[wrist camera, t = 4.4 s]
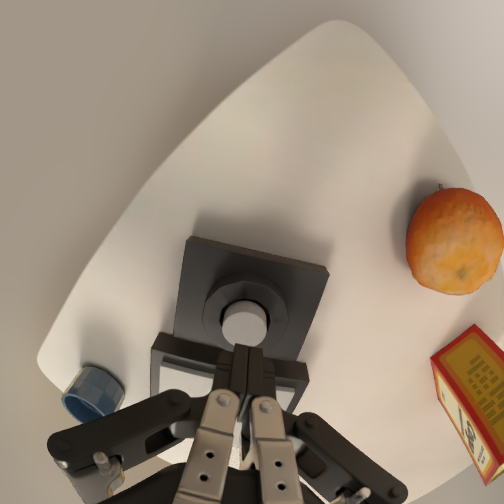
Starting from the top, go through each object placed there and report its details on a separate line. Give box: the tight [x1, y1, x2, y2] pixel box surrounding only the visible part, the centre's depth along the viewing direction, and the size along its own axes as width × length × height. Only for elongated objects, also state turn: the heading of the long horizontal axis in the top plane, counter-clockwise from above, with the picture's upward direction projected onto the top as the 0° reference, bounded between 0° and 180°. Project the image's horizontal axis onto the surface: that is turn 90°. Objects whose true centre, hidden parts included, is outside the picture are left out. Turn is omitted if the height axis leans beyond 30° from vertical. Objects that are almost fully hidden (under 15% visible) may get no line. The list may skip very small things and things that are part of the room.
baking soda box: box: [430, 324, 504, 486], centre depth 16 cm, size 10×6×16 cm
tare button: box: [222, 300, 267, 347], centre depth 18 cm, size 3×3×2 cm
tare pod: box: [173, 236, 330, 362], centre depth 19 cm, size 10×8×3 cm
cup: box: [62, 367, 124, 424], centre depth 22 cm, size 6×6×5 cm
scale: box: [150, 333, 310, 448], centre depth 23 cm, size 13×12×3 cm
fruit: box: [406, 184, 504, 296], centre depth 16 cm, size 8×8×8 cm
